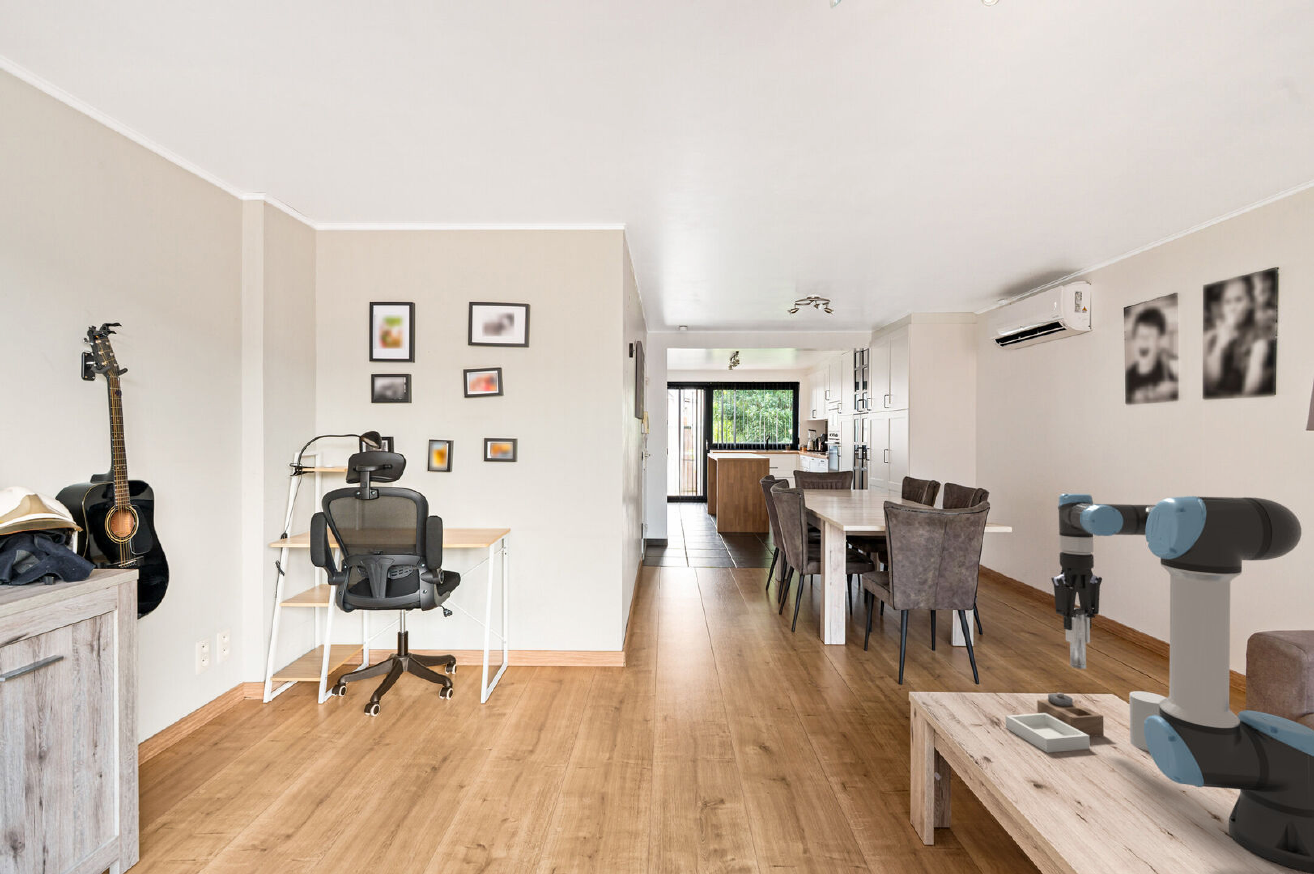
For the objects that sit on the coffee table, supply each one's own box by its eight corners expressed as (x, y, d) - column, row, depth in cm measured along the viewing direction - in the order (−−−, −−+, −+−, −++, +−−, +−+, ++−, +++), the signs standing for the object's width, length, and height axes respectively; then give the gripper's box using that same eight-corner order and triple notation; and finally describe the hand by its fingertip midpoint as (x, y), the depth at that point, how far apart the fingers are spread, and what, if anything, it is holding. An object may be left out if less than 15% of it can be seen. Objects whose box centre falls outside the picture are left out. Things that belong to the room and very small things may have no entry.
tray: (1089, 748, 156) (1089, 735, 156) (1046, 752, 154) (1046, 739, 154) (1045, 724, 169) (1045, 712, 169) (1005, 727, 167) (1005, 715, 167)
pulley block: (1103, 735, 163) (1103, 705, 163) (1073, 737, 162) (1072, 707, 162) (1066, 716, 175) (1065, 688, 175) (1037, 718, 173) (1037, 690, 174)
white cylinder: (1178, 749, 155) (1177, 700, 156) (1160, 756, 152) (1159, 705, 152) (1141, 736, 163) (1140, 689, 163) (1123, 742, 159) (1122, 694, 160)
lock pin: (1089, 668, 164) (1088, 609, 165) (1077, 669, 164) (1076, 610, 164) (1078, 664, 168) (1077, 606, 168) (1067, 665, 167) (1066, 607, 167)
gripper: (1091, 549, 172) (1092, 636, 171) (1037, 550, 169) (1039, 638, 168) (1115, 553, 164) (1117, 644, 163) (1060, 555, 161) (1061, 647, 161)
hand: (1077, 641), depth 166 cm, fingers closed on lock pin, 3 cm apart
